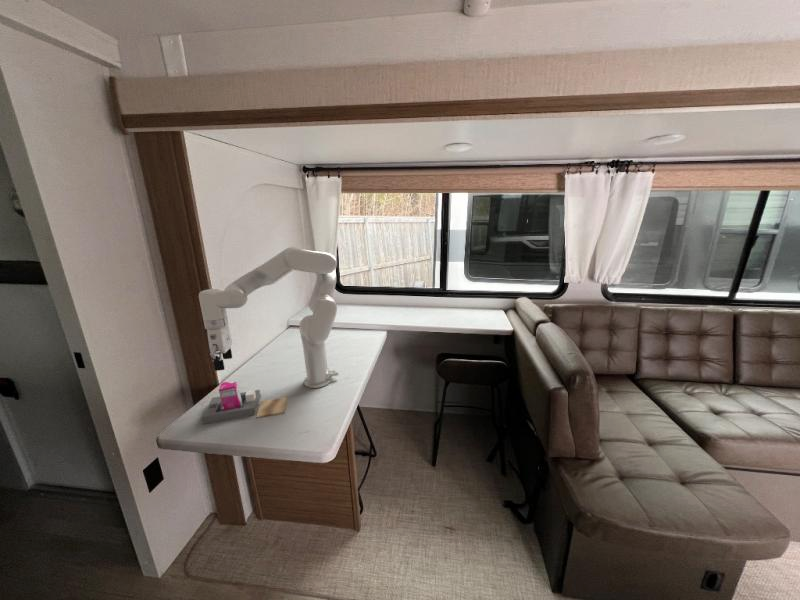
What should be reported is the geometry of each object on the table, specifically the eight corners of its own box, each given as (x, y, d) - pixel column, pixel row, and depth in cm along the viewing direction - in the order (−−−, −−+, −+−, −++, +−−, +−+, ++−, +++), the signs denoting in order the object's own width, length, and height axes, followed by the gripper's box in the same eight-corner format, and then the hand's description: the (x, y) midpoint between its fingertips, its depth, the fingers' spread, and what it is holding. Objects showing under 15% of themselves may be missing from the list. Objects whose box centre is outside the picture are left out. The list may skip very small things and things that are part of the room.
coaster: (286, 398, 124) (286, 397, 124) (284, 412, 115) (284, 411, 114) (261, 402, 121) (260, 401, 121) (256, 418, 112) (256, 416, 112)
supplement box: (226, 406, 120) (221, 381, 116) (243, 403, 122) (237, 378, 118) (224, 415, 114) (218, 389, 111) (241, 411, 116) (235, 386, 113)
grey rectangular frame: (260, 395, 126) (258, 383, 125) (255, 414, 114) (252, 401, 113) (213, 403, 122) (210, 391, 120) (202, 424, 110) (199, 410, 108)
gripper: (219, 329, 102) (227, 373, 107) (234, 314, 118) (240, 353, 123) (195, 331, 100) (204, 376, 105) (213, 316, 117) (220, 355, 121)
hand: (224, 364), depth 114 cm, fingers open, 9 cm apart
